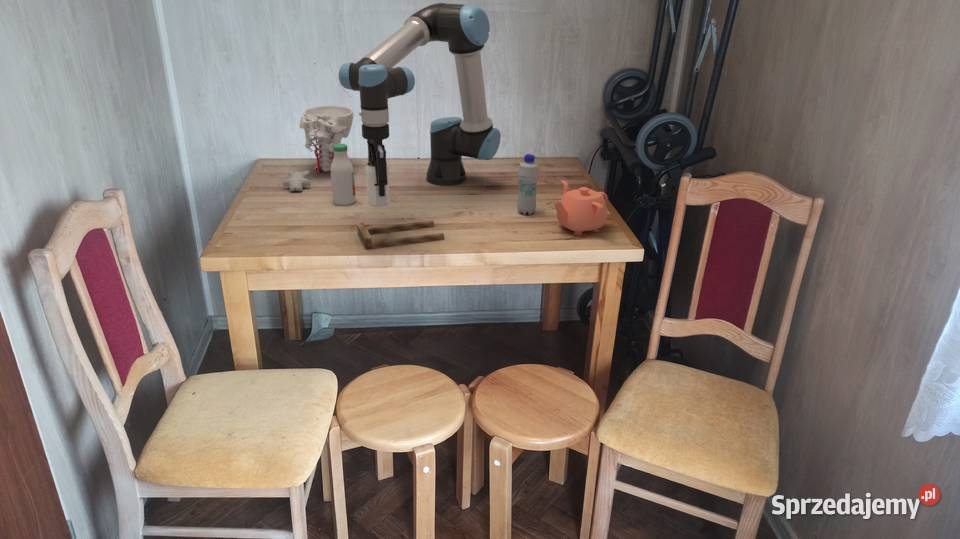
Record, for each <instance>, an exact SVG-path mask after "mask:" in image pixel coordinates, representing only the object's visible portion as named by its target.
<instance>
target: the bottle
mask: <svg viewBox="0 0 960 539" xmlns="http://www.w3.org/2000/svg"><path fill="white" fill-rule="evenodd" d="M535 158H536V157H535V155H534V154H531V153H529V154H528V153H527V154H525V155H524V157H523V161H522V162H520V163H519V166H518V171H517V175H518V176H517V179H518V191H517V193H518V194H517V195H518V196H517V202H516V203H517V204H516V206H517V207H516V209H517V212H518V213H519V214H523V215H526V214H528V216H529V215H531V214H534V213H535V212H536V210H537V209H536V207H537V186H538V184H537V182H538V179H539V175H540V174H539V165H538V164H537V162H535Z"/></svg>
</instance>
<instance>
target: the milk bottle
mask: <svg viewBox="0 0 960 539" xmlns="http://www.w3.org/2000/svg"><path fill="white" fill-rule="evenodd" d="M333 150H334V151H333V152H334V159H333V162H332V164H331V172H330V181H331V182H330V183H331V193H332V194H331V195H332V202H333V203H334V204H335V205H337V206H350V205H352V204H355V202H356V187H355V186H356V184H355V174H354V168H353V167H354V166H353V164H352V162H351V161H350V158H349V156H348V144H346V143H340V144H335V145H333Z"/></svg>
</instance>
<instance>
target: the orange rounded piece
mask: <svg viewBox="0 0 960 539" xmlns="http://www.w3.org/2000/svg"><path fill="white" fill-rule="evenodd" d="M560 181H561V183H562V187H563V194H562V197H561V199H560V200H559V199H557V200H554V201H553V204H554V207H555V212H556V219H557V220H558V223H559V224H560V225H561V228H563V229H568V230H570V231H573V235H575V236H579V237H580V236H582V235H583V232H589V231H591V232H594V233H598V232H600V228H603V226H604V225H606V223H607V220H608V209H607V202H608V195H607V194H606V192H603V191H596V190H593V189H592V188H588V187H586V186H582V187H579V188H578V189H571V188H570V185H569V184H568V182H567V181H566V180H564V179H560Z"/></svg>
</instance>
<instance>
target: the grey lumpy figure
mask: <svg viewBox="0 0 960 539" xmlns="http://www.w3.org/2000/svg"><path fill="white" fill-rule="evenodd" d="M310 175H311V172H310V170H308V169H306V170H305V169H304V170H303V171H296V170H289V171H288V176H290V177H289V178H286V179H284V180H282V185H283V187H284V188H288V189H289V191H290V192H303V191H304V190H303V189H304V188H307V187H311V179H308V178H306V177H308V176H310Z"/></svg>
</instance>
